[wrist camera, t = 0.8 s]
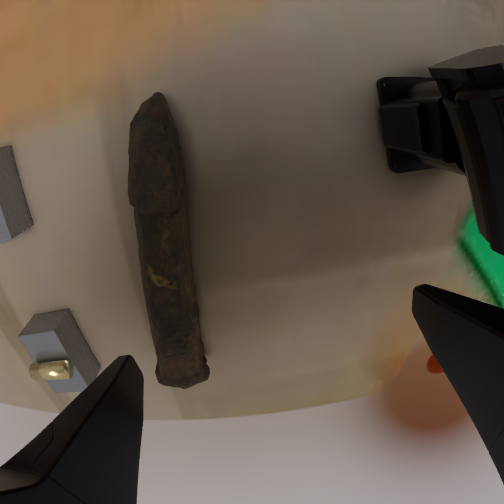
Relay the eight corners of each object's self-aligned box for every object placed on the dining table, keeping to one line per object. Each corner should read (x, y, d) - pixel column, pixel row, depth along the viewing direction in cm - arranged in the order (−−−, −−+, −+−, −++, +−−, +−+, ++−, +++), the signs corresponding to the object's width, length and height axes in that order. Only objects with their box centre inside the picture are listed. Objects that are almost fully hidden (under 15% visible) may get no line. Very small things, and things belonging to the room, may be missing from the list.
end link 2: (68, 308, 21) (46, 342, 17) (100, 366, 23) (86, 403, 19) (33, 315, 21) (10, 347, 17) (65, 369, 23) (49, 404, 19)
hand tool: (209, 356, 24) (209, 399, 20) (160, 355, 24) (152, 397, 19) (209, 95, 17) (206, 85, 13) (143, 97, 17) (121, 89, 12)
